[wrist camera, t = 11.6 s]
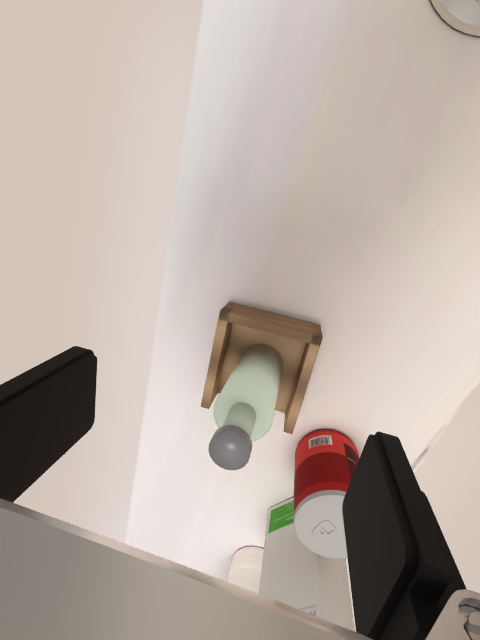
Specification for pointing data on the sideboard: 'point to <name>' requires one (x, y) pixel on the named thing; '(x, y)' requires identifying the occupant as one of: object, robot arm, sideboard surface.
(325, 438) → the canned food
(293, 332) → the u rest
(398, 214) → the sideboard surface
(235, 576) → the bottle
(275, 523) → the skincare box
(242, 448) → the bottle
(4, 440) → the robot arm
